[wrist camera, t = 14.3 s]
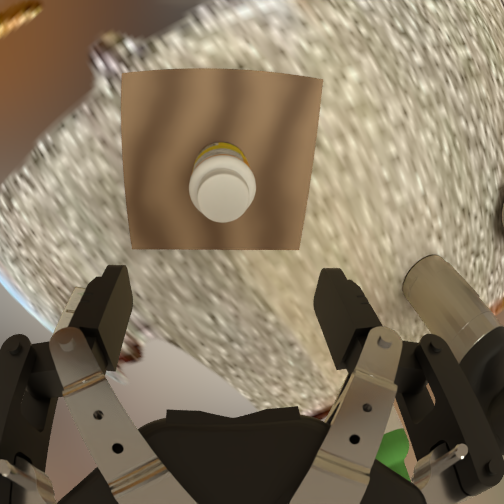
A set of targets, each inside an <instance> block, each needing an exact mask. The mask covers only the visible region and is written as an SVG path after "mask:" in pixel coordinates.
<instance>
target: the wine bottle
mask: <svg viewBox="0 0 504 504" xmlns="http://www.w3.org/2000/svg"><path fill="white" fill-rule="evenodd" d="M408 450H409V441H408V439H407V436H406V434H405V431H404V428H403V426H402V424H401V421H400V419H399V417H398V414H397V412H396V410H395V407H394V405H393V406H392V410H391V413H390V417H389V420H388V423H387V426H386V429H385V432H384V435H383V438H382V441H381V444H380V447H379V449H378V452H377V455H376V457H375V459H377V460H378V461H380V462H381V463H383V464H384V465H386V466H387V467H389V468H390V469H392V470H393V471H395V472H396V473H398V474H399V475H401V476H402V477H404V478H405V479H407V480H408V481H410V482H411V480H410V478H409V475H408V472H407V469H406V466H405V464H404V459H405V457H406V455H407V453H408Z"/></svg>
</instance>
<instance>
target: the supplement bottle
mask: <svg viewBox="0 0 504 504" xmlns="http://www.w3.org/2000/svg"><path fill="white" fill-rule="evenodd" d="M255 192H256V182H255V178H254V175H253V172H252V170H251V168H250V166H249V164H248V162H247V159H246V157H245V155H244V153H243V152H242V151H241V150H240V149H239V148H238V147H237V146H235V145H233V144H231V143H228V142H214V143H211V144H209V145H207V146H206V147H204V148H203V149H202V150H201V151H200V153H199V154H198V156H197V158H196V160H195V164H194V167H193V171H192V174H191V178H190V182H189V194H190V197H191V200H192V202H193V204H194V206H195V207H196V208H197V209H198V210H199V211H200V212H201V213H203V214H204V215H205V216H206V217H207V218H208V219H210V220H212V221H215V222H221V223H225V222H231V221H233V220H236V219H238V218H239V217H240V216H241V215H243V213H244V212H245V211H246V209H247V208H248V207H249V206H250V205H251V203H252V201H253V199H254V196H255Z"/></svg>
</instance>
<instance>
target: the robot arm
mask: <svg viewBox="0 0 504 504" xmlns="http://www.w3.org/2000/svg"><path fill="white" fill-rule="evenodd" d="M403 293H404V295H405V297H406V298H407V299H408V301H409V302H410V304H411V305H412V306H413V308H414V309H415V311H416V312H417V314H418V315H419V316H420V318H421V319H422V321H423V322H424V324H425V325H426V327H427V328H428V329H429V331H430V332H431V334H426V335H424V336H423V337H422V338H421V340H420V342H419V343H415V342H408V341H402V339H401V337H400V336H399V335H398V334H397V333H396V332H395V331H394V330H392V329H390V328H387V327H383V326H382V324H381V322H380V321H379V319H378V317H377V315H376V314H375V312H374V310H373V308H372V307H371V305H370V304H369V302H368V300H367V298H366V297H365V295H364V293H363V292H362V290H361V288H360V287H359V286H358V285H357V284H356V283H354V282H353V281H352V280H347V278H346V277H345V275H344V273H343V271H342V270H341V269H340V268H323V269H322V270H321V272H320V276H319V280H318V284H317V288H316V292H315V295H314V310H315V313H316V316H317V318H318V321H319V324H320V326H321V329H322V332H323V334H324V337H325V340H326V342H327V345H328V348H329V350H330V353H331V356H332V359H333V361H334V364H335V367H336V370H341V369H347V371H348V375H347V377H346V379H345V381H344V383H343V385H342V387H341V390H340V392H339V394H338V396H337V398H336V400H335V402H334V404H333V407H332V409H331V411H330V412H329V414H328V416H327V418H326V419H325V421H324V422H323V421H321V420H319V419H316V418H313V417H310V416H305V415H300V413H299V409H298V406H296V407H286V408H275V409H265V410H262V411H259V412H255V413H252V414H248V415H244V416H241V417H237V418H229V417H224V416H220V415H215V414H210V413H206V412H202V411H187V410H167V415H166V418H163V419H159V420H156V421H153V422H150V423H148V424H146V425H144V426H142V427H140V428H139V429H137V428H136V426H135V425H134V423H133V422H132V420H131V419H130V417H129V416H128V414H127V413H126V411H125V409H124V408H123V406H122V405H121V403H120V402H119V400H118V398H117V396H116V395H115V393H114V391H113V390H112V388H111V386H110V384H109V383H108V381H107V379H106V377H105V373H106V370H107V371H115V372H116V367H117V363H118V359H119V355H120V351H121V347H122V344H123V340H124V336H125V333H126V329H127V325H128V322H129V318H130V315H131V312H132V307H133V296H132V291H131V286H130V281H129V276H128V270H127V267H126V266H125V265H108V266H107V267H106V269H105V271H104V273H103V275H102V277H96V278H95V279H93V280H92V281H91V282H90V283H89V284H88V286H87V287H86V289H85V291H84V295H82V297H81V299H80V302H79V303H78V306H77V308H76V310H75V312H74V314H73V316H72V318H71V320H70V323H69V325H68V327H65V328H62V329H60V330H58V331H57V332H55V333H54V334H53V336H52V337H51V339H50V341H49V342H43V343H37V344H31V342H30V340H29V339H28V337H26V336H25V335H22V334H17V335H13V336H11V337H9V338H8V339H7V340H6V341H5V342H4V343H3V345H2V347H1V349H0V504H459V503H461V502H464V501H466V500H467V499H470V498H472V497H474V496H476V495H478V494H480V493H482V492H484V491H486V490H488V489H490V488H491V487H493V486H495V485H497V484H498V483H499V482H500V480H501V479H502V477H503V475H504V460H503V457H502V455H504V327H503V325H502V324H501V323H500V322H499V320H498V319H497V318H496V317H495V315H494V314H493V313H492V312H491V311H490V310H489V308H488V307H487V306H486V305H485V304H484V302H483V301H482V300H481V299H480V298H479V295H478V294H477V292H476V291H475V290H474V289H473V288H472V287H471V286H470V285H469V284H468V283H467V282H466V280H465V279H464V278H463V277H462V276H461V275H460V274H459V273H458V272H457V271H456V270H455V269H454V268H453V267H452V266H451V265H450V264H449V263H447V262H446V261H445V260H444V259H443V258H441V257H440V256H437V255H432V256H428V257H426V258H424V259H422V260H421V261H419V262H418V263H417V264H416V265H415V266H414V267H413V268H412V269H411V270H410V272H409V273H408V275H407V277H406V279H405V281H404V284H403ZM428 383H429V385H430V387H431V390H432V392H433V394H434V396H435V406H434V403H433V401H432V399H431V396H430V394H429V392H428V390H427V388H426V385H427V384H428ZM23 395H24V396H23ZM58 397H64V399H65V402H66V404H67V406H68V409H69V411H70V413H71V415H72V418H73V420H74V422H75V424H76V426H77V429H78V431H79V433H80V434H81V437H82V439H83V440H84V442H85V444H86V446H87V448H88V450H89V452H90V454H91V456H92V457H93V459H94V461H95V463H96V464H97V466H98V467H97V468H95V469H94V470H93V471H92V472H91V473H90V474H89V475H88V476H87V477H86V478H84V479H83V480H82V481H81V482H80V483H79V484H78V485H77V486H76V487H74V488H73V489H72V490H71V491H70V492H69V493H68V494H66V495H65V496H64V497H63V498H62V499H61V500H60V501H59V502H58V503H57V502H56V500H55V498H54V490H53V486H52V483H51V480H50V479H49V477H48V476H47V475H46V474H45V467H46V459H47V452H48V446H49V440H50V434H51V429H52V423H53V419H54V414H55V409H56V404H57V400H58ZM395 398H396V401H397V403H398V406H399V409H400V411H401V415H402V417H403V420H404V422H405V426H406V429H407V432H408V435H409V437H410V441H411V443H412V446H413V450H414V453H415V456H416V459H417V463H416V465H415V468H414V474H413V476H412V482H410V481H408V480H407V479H405V478H404V477H402V476H401V475H399V474H398V473H396V472H395V471H393V470H392V469H390V468H389V467H387V466H386V465H384V464H383V463H381V462H380V461H378V460H377V459H375V457H376V455H377V452H378V449H379V447H380V444H381V441H382V438H383V435H384V432H385V429H386V426H387V423H388V420H389V417H390V413H391V410H392V406H393V403H394V399H395ZM21 402H22V403H21Z"/></svg>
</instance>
